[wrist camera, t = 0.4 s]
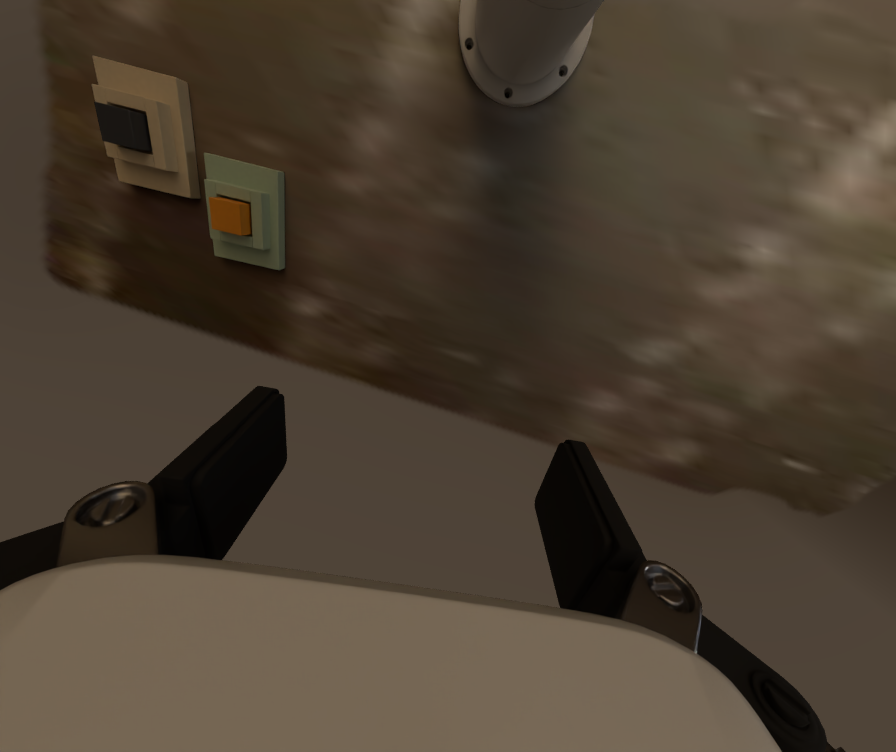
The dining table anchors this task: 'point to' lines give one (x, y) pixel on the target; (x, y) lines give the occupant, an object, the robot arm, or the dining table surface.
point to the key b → (230, 216)
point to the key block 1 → (152, 127)
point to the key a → (123, 127)
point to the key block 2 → (266, 210)
